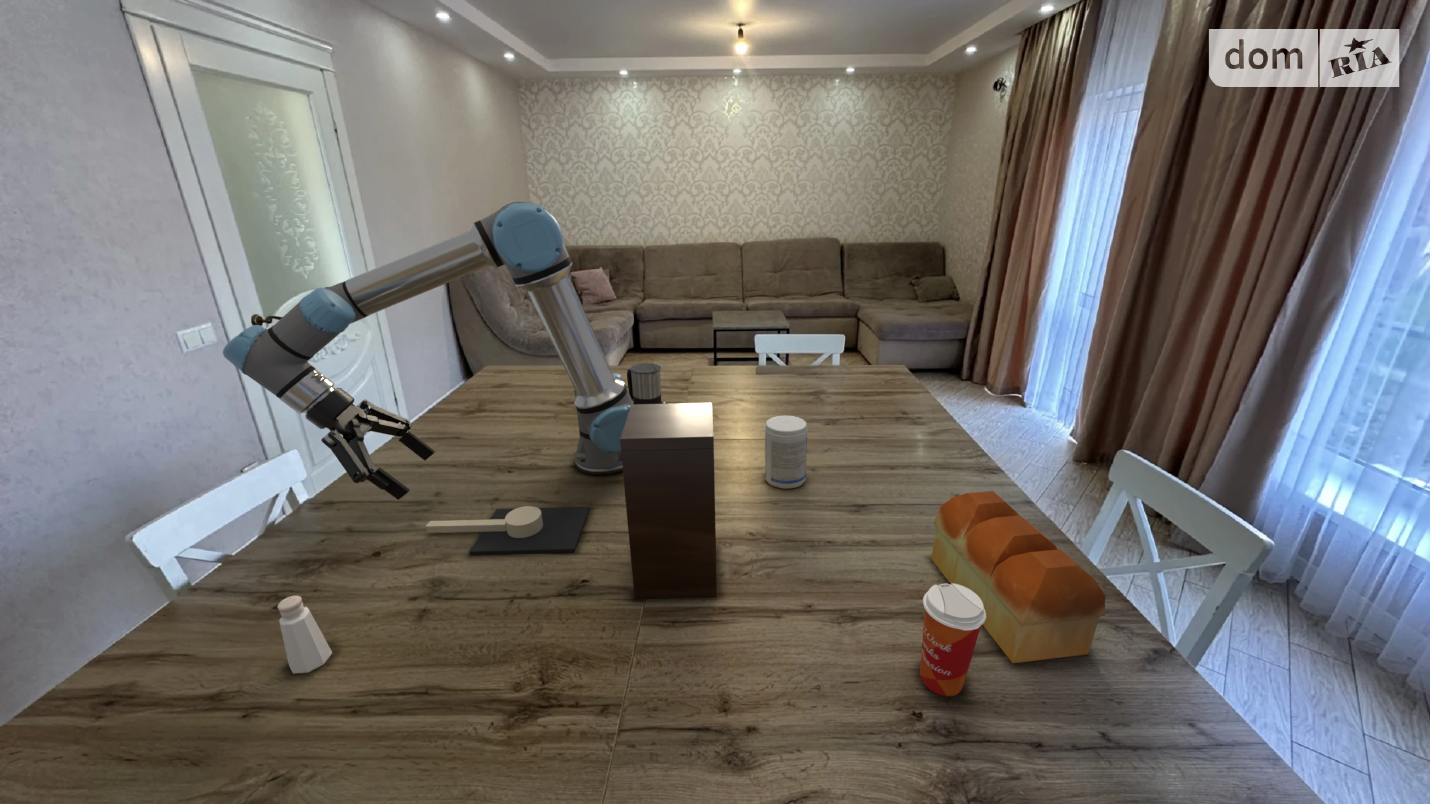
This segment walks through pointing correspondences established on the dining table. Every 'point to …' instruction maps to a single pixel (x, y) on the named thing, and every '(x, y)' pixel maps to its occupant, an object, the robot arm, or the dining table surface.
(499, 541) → the mat
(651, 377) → the milk frother
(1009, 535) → the bread
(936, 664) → the paper cup
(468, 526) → the scoop
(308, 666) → the pepper shaker
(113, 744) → the dining table surface
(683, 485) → the tall dark wooden box
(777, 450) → the supplement tub
